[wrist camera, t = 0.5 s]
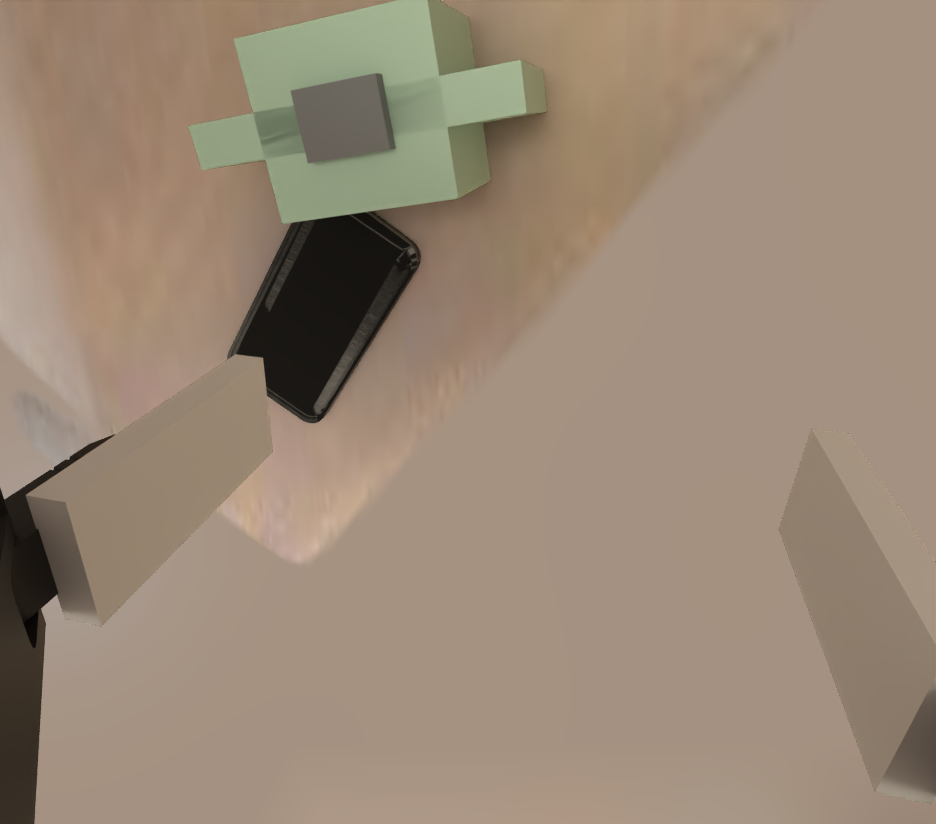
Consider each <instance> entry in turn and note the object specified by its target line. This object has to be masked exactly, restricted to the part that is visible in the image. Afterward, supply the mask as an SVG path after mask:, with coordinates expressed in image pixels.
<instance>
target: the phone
mask: <svg viewBox="0 0 936 824" xmlns="http://www.w3.org/2000/svg"><path fill="white" fill-rule="evenodd" d="M420 257H421V256H420V251H419V249H418V247H417V245H416V244H415V243H414V242H413V241H412V240H410V239H409V238H408V237H406V236H405V235H403V234H402V233H401V232H399V231H398V230H397V229H395V228H394V227H392V226H391V225H390V224H388V223H387V222H386V221H384V220H383V219H381V218H380V217H379V216H377V215H376V214H375V213H373V212H372V211H369V212H362V213H355V214H348V215H341V216H334V217H327V218H320V219H313V220H307V221H300V222H293V223H291V225H290V227H289V230H288V232H287V234H286V236H285V238H284V240H283V242H282V244H281V246H280V248H279V250H278V252H277V254H276V256H275V258H274V260H273V262H272V264H271V266H270V268H269V270H268V273H267V275H266V277H265V279H264V281H263V283H262V285H261V287H260V289H259V291H258V293H257V295H256V297H255V299H254V301H253V303H252V305H251V307H250V309H249V311H248V313H247V315H246V318H245V320H244V322H243V324H242V326H241V328H240V330H239V332H238V334H237V336H236V338H235V340H234V342H233V344H232V346H231V348H230V350H229V352H228V356H227V360H228V359H229V358H231V357H232V356H234V355H235V354H236V355H244V356H252V357H260V358H263V363H264V372H265V382H266V391H267V396H268V397H270V398H271V399H272V400H274V401H275V402H277V403H278V404H280V405H281V406H283V407H284V408H285V409H287V410H288V411H290V412H291V413H293V414H294V415H296V416H297V417H298V418H300V419H301V420H303V421H305V422H308V423H317V422H319V421H320V420H321V419H322V418H323V417H324V416H325V415H326V414H327V413H328V412H329V410H330V408H331V407H332V405H333V403H334V402H335V400H336V399H337V397H338V395H339V394H340V392H341V391H342V389H343V387H344V386H345V384H346V383H347V381H348V379H349V378H350V376H351V375H352V373H353V371H354V370H355V368H356V366H357V365H358V363H359V362H360V360H361V358H362V357H363V355H364V354H365V352H366V350H367V349H368V347H369V346H370V344H371V342H372V341H373V339H374V337H375V336H376V334H377V333H378V331H379V329H380V328H381V326H382V325H383V323H384V321H385V320H386V318H387V317H388V315H389V313H390V312H391V310H392V309H393V307H394V305H395V304H396V302H397V300H398V299H399V297H400V296H401V294H402V292H403V291H404V289H405V288H406V286H407V284H408V283H409V281H410V280H411V278H412V276H413V275H414V273H415V272H416V270H417V268H418V266H419V264H420Z"/></svg>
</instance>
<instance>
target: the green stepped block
mask: <svg viewBox="0 0 936 824" xmlns="http://www.w3.org/2000/svg"><path fill="white" fill-rule="evenodd" d="M233 40H234V43H235V47H236V51H237V55H238V58H239V62H240V66H241V70H242V74H243V77H244V81H245V85H246V89H247V93H248V96H249V100H250V104H251V108H252V112H253V113H250V114H245V115H240V116H235V117H230V118H225V119H220V120H215V121H210V122H205V123H200V124H195V125H190V126H188V127H189V130H190V133H191V137H192V140H193V143H194V146H195V150H196V153H197V156H198V160H199V163H200V166H201V170H207V169H213V168H220V167H227V166H233V165H240V164H247V163H253V162H260V161H266V165H267V168H268V172H269V176H270V180H271V184H272V187H273V191H274V195H275V199H276V202H277V206H278V210H279V214H280V218H281V221H282V224H286V223H293V222H300V221H307V220H313V219H320V218H327V217H334V216H341V215H348V214H355V213H362V212H369V211H376V210H383V209H389V208H396V207H403V206H410V205H417V204H424V203H431V202H438V201H445V200H452V199H458V198H460V197H462V196H464V195H466V194H467V193H469V192H471V191H473V190H475V189H477V188H478V187H480V186H482V185H484V184H486V183H488V182H489V181H491V178H490V171H489V164H488V156H487V149H486V141H485V134H484V127H483V123H485V122H491V121H497V120H502V119H508V118H514V117H520V116H525V115H531V114H537V113H542V112H547V106H546V95H545V85H544V75H543V69H541V68H538V67H536V66H534V65H532V64H529V63H527V62H525V61H522V60H517V61H512V62H507V63H502V64H497V65H492V66H487V67H482V68H477V69H476V67H475V60H474V53H473V45H472V38H471V30H470V23H469V17H467V16H465V15H464V14H462V13H460V12H458V11H457V10H455V9H453V8H451V7H449V6H448V5H446V4H444V3H442V2H441V1H439V0H396V1H392V2H388V3H384V4H379V5H375V6H371V7H367V8H362V9H358V10H354V11H350V12H345V13H341V14H337V15H333V16H328V17H324V18H320V19H316V20H311V21H307V22H303V23H299V24H294V25H290V26H286V27H282V28H277V29H273V30H269V31H265V32H260V33H256V34H252V35H248V36H243V37H239V38H235V39H233Z"/></svg>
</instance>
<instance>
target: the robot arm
mask: <svg viewBox="0 0 936 824" xmlns="http://www.w3.org/2000/svg"><path fill="white" fill-rule="evenodd" d="M272 452H273V448H272V438H271V429H270V419H269V410H268V401H267V391H266V382H265V372H264V363H263V358H260V357H252V356H244V355H236V354H235V355H234V356H232V357H231V358H229V359H228V360H226V361H225V362H223V363H222V364H220V365H219V366H217V367H216V368H214V369H213V370H211V371H210V372H208V373H207V374H205V375H204V376H202V377H201V378H199V379H198V380H196V381H195V382H194V383H192V384H191V385H189V386H188V387H186V388H185V389H183V390H182V391H180V392H179V393H177V394H176V395H174V396H173V397H171V398H170V399H168V400H167V401H165V402H164V403H162V404H161V405H159V406H158V407H156V408H155V409H153V410H152V411H150V412H149V413H147V414H146V415H144V416H143V417H141V418H140V419H138V420H137V421H135V422H134V423H132V424H131V425H129V426H128V427H126V428H125V429H123V430H122V431H120V432H119V433H117V434H116V435H115V434H114V435H112V436H109V437H106V438H104V439H101V440H99V441H96V442H94V443H91V444H89V445H87V446H86V447H84V448H83V449H81V450H80V451H78V452H77V453H75V454H74V455H72V456H70V459H69V460H64V461H63V462H61V463H60V464H58V465H57V466H55V467H54V470H49V471H48V472H46V473H45V474H43V475H41V476H40V477H38V478H37V479H35V480H34V481H33V482H31V483H29V484H28V485H26V486H25V487H23V488H22V489H20V490H19V491H17V492H16V493H14V494H12V495H11V496H9V497H8V498H6V499H5V500H4V498H3V495H2V492H1V489H0V824H34V819H35V802H36V785H37V767H38V749H39V732H40V715H41V698H42V680H43V662H44V645H45V627H46V623H45V620H44V616H43V614H42V610H41V608H42V607H43V606H44V605H45V604H46V603H48V602H49V601H50V600H51V599H52V598H53V597H54V596H56V595H57V596H58V599H59V602H60V605H61V608H62V612H63V615H64V618H65V619H67V620H72V621H76V622H81V623H86V624H91V625H95V626H100V627H102V626H103V625H104V623H105V622H106V621H107V620H108V619H109V618H110V617H111V616H112V615H113V614H114V613H115V612H116V611H117V610H118V609H119V608H120V607H121V606H122V605H123V604H124V603H125V602H126V601H127V600H128V599H129V598H130V597H131V596H132V595H133V594H134V593H135V592H136V591H137V590H138V589H139V587H141V586H142V585H143V584H144V582H146V580H148V578H149V577H150V576H151V575H152V574H153V573H154V572H155V571H156V570H157V569H158V568H159V567H160V566H161V565H162V564H163V563H164V562H165V561H166V560H167V559H168V558H169V557H170V556H171V555H172V554H173V553H174V552H175V551H176V550H177V549H178V548H179V547H180V546H181V545H182V544H183V543H184V542H185V541H186V540H187V539H188V538H189V537H190V536H191V534H193V532H194V531H195V530H196V529H197V528H198V527H199V526H200V525H201V524H202V523H203V522H204V521H205V520H206V519H207V518H208V517H209V516H210V515H211V514H212V513H213V512H214V511H215V510H216V509H217V508H218V507H219V506H220V505H221V504H222V503H223V502H224V501H225V500H226V499H227V498H228V497H229V496H230V495H231V494H232V493H233V492H234V491H235V490H236V489H237V488H238V486H239V485H240V484H241V483H242V482H243V481H244V480H245V479H246V478H247V477H248V476H249V475H250V474H251V473H252V472H253V471H254V470H255V469H256V468H257V467H258V466H259V465H260V464H261V463H262V462H263V461H264V460H265V459H266V458H267V457H268V456H269V455H270V454H271V453H272ZM779 532H780V535H781V537H782V540H783V543H784V545H785V548H786V551H787V554H788V557H789V559H790V562H791V565H792V567H793V570H794V573H795V576H796V578H797V581H798V584H799V587H800V589H801V592H802V595H803V597H804V600H805V603H806V606H807V608H808V611H809V614H810V616H811V619H812V622H813V624H814V627H815V630H816V633H817V636H818V638H819V641H820V644H821V647H822V649H823V652H824V655H825V658H826V660H827V663H828V666H829V668H830V671H831V674H832V677H833V679H834V682H835V685H836V688H837V690H838V693H839V696H840V698H841V701H842V704H843V707H844V709H845V712H846V715H847V718H848V720H849V723H850V726H851V728H852V731H853V734H854V737H855V739H856V742H857V745H858V748H859V750H860V753H861V755H862V759H863V761H864V764H865V766H866V769H867V772H868V774H869V778H870V780H871V783H872V786H873V789H874V791H875V792H877V793H881V794H886V795H890V796H895V797H900V798H904V799H909V800H914V801H918V802H923V803H928V804H931V803H932V802H933V800H934V798H935V797H936V561H935V560H934V558H933V557H932V556H931V554H930V553H929V551H928V550H927V548H926V547H925V545H924V544H923V542H922V541H921V539H920V538H919V536H918V535H917V533H916V532H915V530H914V529H913V528H912V526H911V525H910V523H909V522H908V520H907V519H906V517H905V516H904V514H903V513H902V511H901V510H900V508H899V507H898V505H897V504H896V502H895V501H894V500H893V498H892V497H891V495H890V494H889V492H888V491H887V489H886V488H885V486H884V485H883V483H882V482H881V480H880V479H879V477H878V476H877V474H876V473H875V472H874V470H873V469H872V467H871V466H870V464H869V463H868V461H867V460H866V458H865V457H864V455H863V454H862V452H861V451H860V450H859V448H858V446H857V445H856V444H855V442H854V441H853V439H852V438H851V436H850V435H849V433H842V432H834V431H827V430H819V429H811V431H810V434H809V437H808V440H807V443H806V447H805V450H804V453H803V456H802V459H801V462H800V465H799V468H798V471H797V474H796V478H795V481H794V484H793V487H792V490H791V493H790V496H789V499H788V502H787V506H786V508H785V511H784V515H783V517H782V521H781V524H780V527H779Z"/></svg>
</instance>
